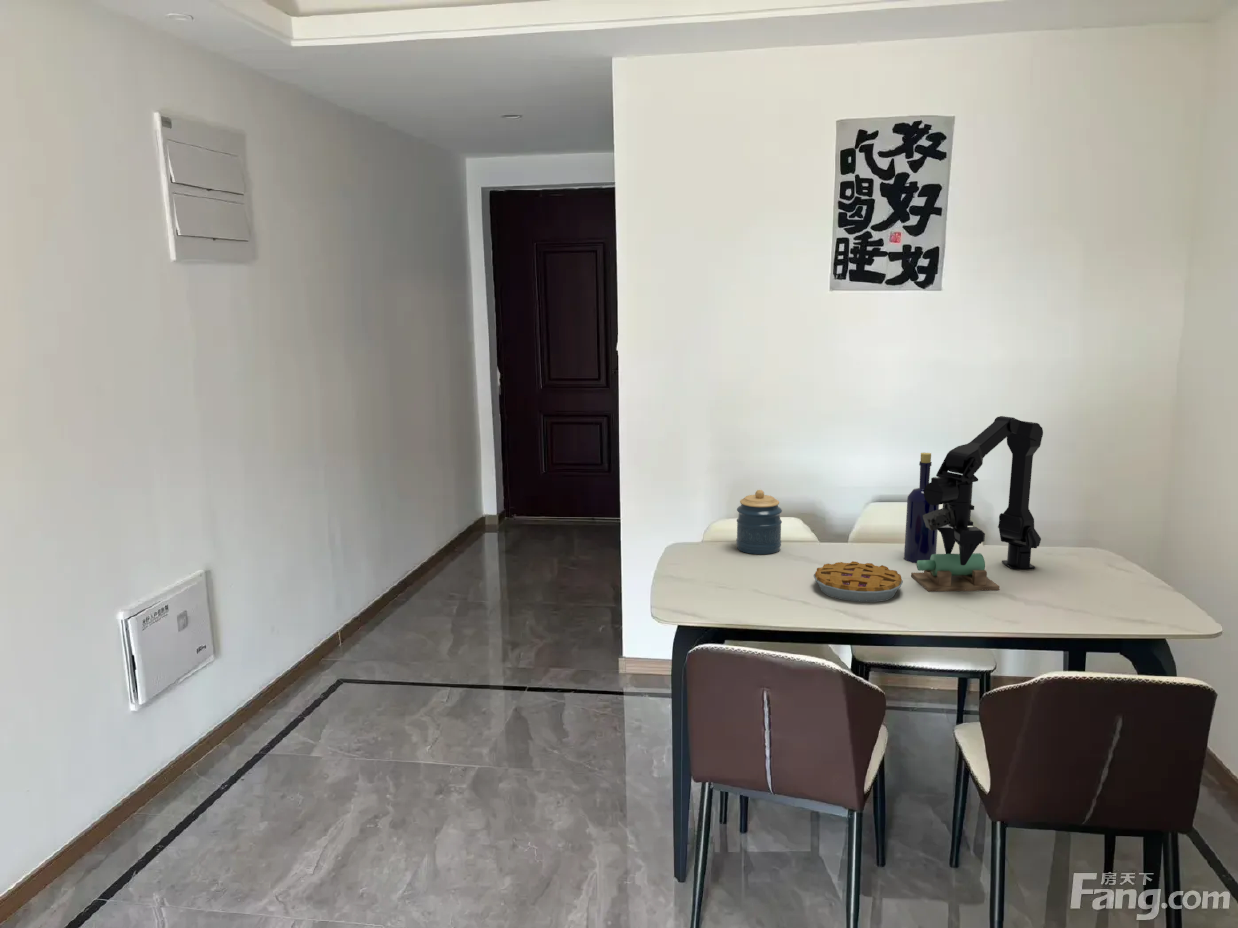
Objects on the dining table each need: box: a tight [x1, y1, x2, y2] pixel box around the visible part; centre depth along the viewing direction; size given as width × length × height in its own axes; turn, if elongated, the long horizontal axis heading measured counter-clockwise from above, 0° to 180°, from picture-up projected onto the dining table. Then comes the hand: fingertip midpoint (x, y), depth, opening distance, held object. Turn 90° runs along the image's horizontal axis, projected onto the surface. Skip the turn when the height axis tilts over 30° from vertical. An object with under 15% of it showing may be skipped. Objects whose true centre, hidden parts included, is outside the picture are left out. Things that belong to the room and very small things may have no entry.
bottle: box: [903, 452, 940, 564], centre depth 245 cm, size 9×9×30 cm
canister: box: [735, 489, 783, 555], centre depth 258 cm, size 13×13×18 cm
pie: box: [813, 560, 904, 603], centre depth 223 cm, size 22×22×5 cm
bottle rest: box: [910, 569, 1001, 593], centre depth 227 cm, size 18×12×4 cm, turn 92°
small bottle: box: [916, 552, 986, 576], centre depth 227 cm, size 16×6×6 cm, turn 92°
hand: (955, 559), depth 226 cm, fingers open, 9 cm apart
